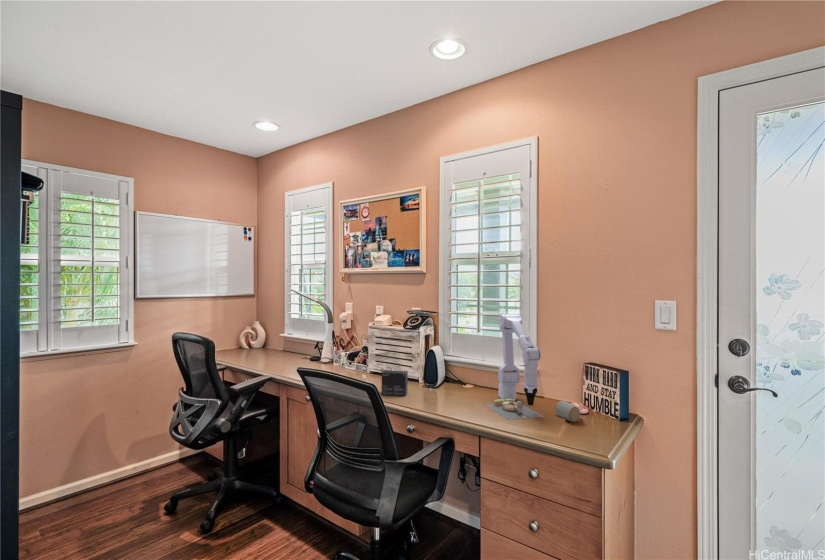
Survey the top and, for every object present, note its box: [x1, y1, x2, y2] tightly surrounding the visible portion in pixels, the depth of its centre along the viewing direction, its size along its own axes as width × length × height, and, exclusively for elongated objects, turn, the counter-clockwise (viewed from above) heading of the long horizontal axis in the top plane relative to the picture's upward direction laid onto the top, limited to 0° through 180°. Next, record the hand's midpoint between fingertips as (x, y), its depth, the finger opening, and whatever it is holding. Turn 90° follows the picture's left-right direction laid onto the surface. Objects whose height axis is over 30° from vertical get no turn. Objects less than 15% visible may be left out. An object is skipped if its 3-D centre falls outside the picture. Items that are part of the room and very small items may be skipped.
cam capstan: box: [502, 400, 524, 414], centre depth 184 cm, size 13×8×5 cm, turn 14°
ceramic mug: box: [554, 400, 582, 423], centre depth 177 cm, size 11×8×8 cm
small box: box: [381, 369, 409, 397], centre depth 213 cm, size 13×7×12 cm, turn 82°
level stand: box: [484, 398, 545, 421], centre depth 184 cm, size 22×18×4 cm
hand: (530, 404), depth 180 cm, fingers closed
